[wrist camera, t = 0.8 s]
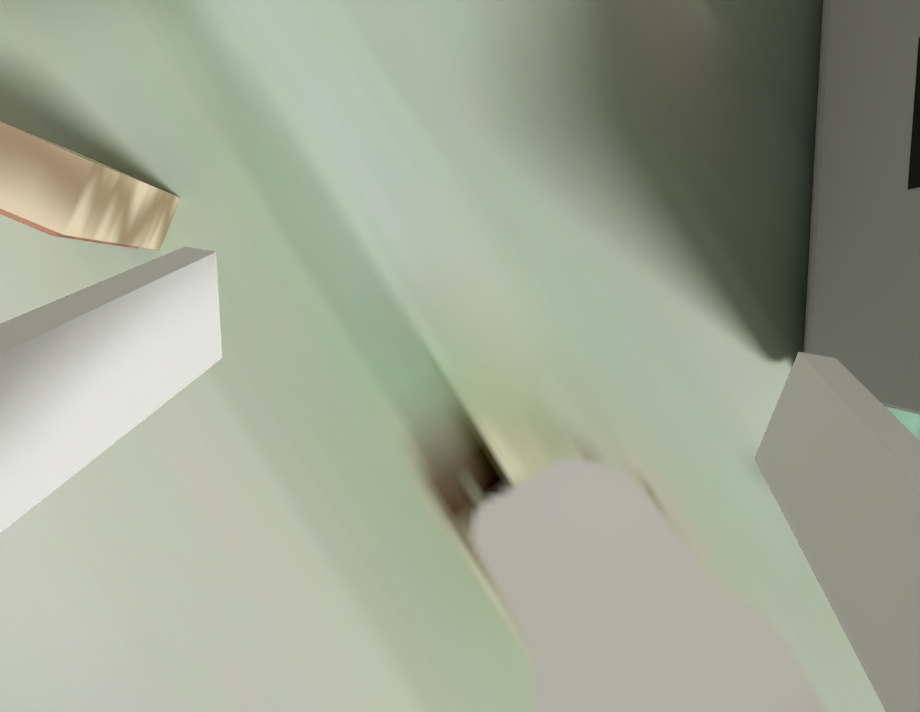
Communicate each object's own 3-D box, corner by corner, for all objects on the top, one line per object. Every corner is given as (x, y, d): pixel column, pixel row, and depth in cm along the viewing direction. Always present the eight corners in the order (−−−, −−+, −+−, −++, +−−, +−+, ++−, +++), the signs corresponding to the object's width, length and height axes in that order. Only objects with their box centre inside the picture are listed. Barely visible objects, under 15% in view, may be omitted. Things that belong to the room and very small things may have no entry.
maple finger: (157, 255, 42) (60, 242, 30) (58, 213, 41) (-81, 183, 29) (180, 197, 42) (91, 161, 30) (81, 154, 41) (-51, 99, 29)
